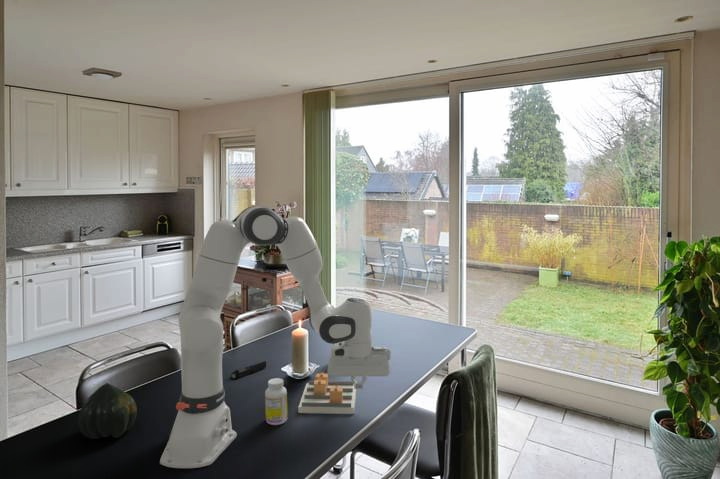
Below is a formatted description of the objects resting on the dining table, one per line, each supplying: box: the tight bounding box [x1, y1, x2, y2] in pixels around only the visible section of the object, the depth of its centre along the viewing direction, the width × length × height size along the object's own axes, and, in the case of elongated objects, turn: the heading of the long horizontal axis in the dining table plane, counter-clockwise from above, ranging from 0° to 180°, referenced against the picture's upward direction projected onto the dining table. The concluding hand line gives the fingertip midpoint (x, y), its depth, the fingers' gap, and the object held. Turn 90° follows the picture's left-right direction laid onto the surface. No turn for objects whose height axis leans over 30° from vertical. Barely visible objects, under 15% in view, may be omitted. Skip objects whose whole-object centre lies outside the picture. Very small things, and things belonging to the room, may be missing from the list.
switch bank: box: [297, 380, 357, 415], centre depth 155 cm, size 18×18×3 cm
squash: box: [77, 382, 138, 440], centre depth 134 cm, size 14×15×15 cm
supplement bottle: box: [264, 377, 288, 426], centre depth 141 cm, size 7×7×13 cm
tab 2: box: [313, 379, 327, 395], centre depth 154 cm, size 3×4×5 cm
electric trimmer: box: [230, 360, 267, 380], centre depth 178 cm, size 4×16×3 cm, turn 139°
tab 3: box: [330, 386, 343, 403], centre depth 149 cm, size 3×4×5 cm
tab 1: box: [315, 371, 329, 388], centre depth 160 cm, size 3×4×5 cm
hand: (358, 388), depth 148 cm, fingers closed
